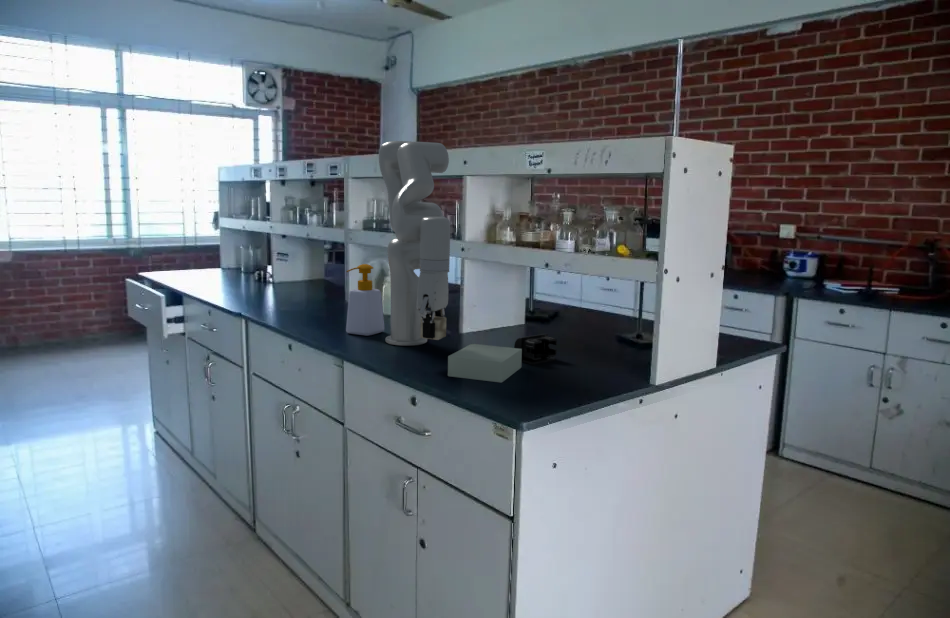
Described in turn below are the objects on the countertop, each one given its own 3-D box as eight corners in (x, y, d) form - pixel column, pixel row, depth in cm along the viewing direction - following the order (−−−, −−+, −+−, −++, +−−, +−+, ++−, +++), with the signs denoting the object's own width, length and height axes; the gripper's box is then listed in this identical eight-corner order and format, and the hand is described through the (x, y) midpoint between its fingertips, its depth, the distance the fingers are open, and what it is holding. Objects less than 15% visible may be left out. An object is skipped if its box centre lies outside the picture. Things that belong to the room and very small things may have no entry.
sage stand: (471, 361, 180) (471, 343, 179) (521, 367, 175) (521, 348, 174) (447, 376, 165) (448, 356, 164) (501, 382, 160) (502, 362, 160)
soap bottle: (335, 336, 209) (334, 265, 206) (362, 329, 222) (362, 262, 218) (359, 339, 205) (359, 267, 201) (386, 332, 217) (386, 263, 214)
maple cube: (428, 333, 177) (428, 315, 176) (446, 336, 175) (446, 317, 174) (420, 337, 172) (420, 318, 171) (438, 340, 170) (438, 320, 170)
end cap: (539, 355, 190) (540, 331, 189) (557, 360, 185) (558, 336, 183) (513, 360, 184) (514, 335, 183) (531, 365, 178) (532, 340, 177)
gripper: (435, 261, 179) (433, 327, 183) (406, 268, 164) (405, 340, 167) (460, 263, 177) (459, 330, 180) (434, 270, 161) (432, 344, 164)
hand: (433, 334), depth 174 cm, fingers closed on maple cube, 4 cm apart
